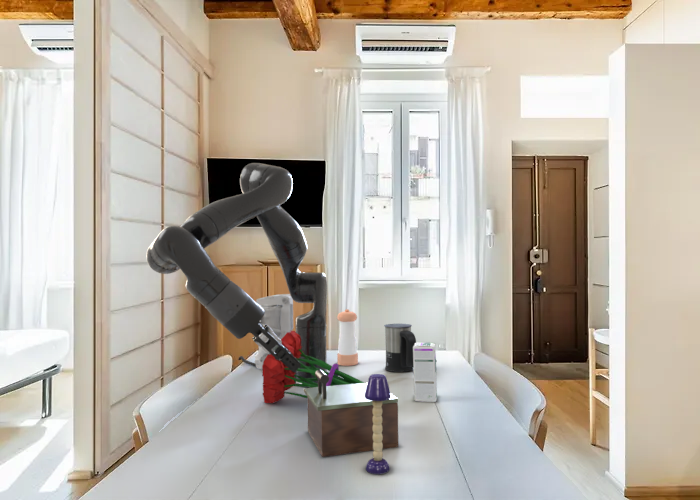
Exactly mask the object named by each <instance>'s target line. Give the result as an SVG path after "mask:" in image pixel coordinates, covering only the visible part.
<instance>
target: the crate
mask: <svg viewBox="0 0 700 500" xmlns="http://www.w3.org/2000/svg"><path fill="white" fill-rule="evenodd" d="M381 407H382V415H381V416H382V436H383V439H382V444H383V448H382V450H387V449H393V448H399V402H398V403H388V404H382V406H381ZM373 416H374V415H373V405H369V406H359V407H350V408H340V409H330V410H321V411H317V409H316V408H315V407H314V405H313V404H312V402H311V401H310V400H309V398H307V434H308V436H309V437H310V439H311V440H312V443H313V444H314V446H315V447H316V449H317V451H318V452H319V454H320V455H321V458H325V457H333V456H342V455H347V454H348V455H349V454H356V453H363V452H371V451H372V452H373V451H374V450H373V442H374V441H373V433H374V432H373Z"/></svg>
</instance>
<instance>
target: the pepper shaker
mask: <svg viewBox="0 0 700 500" xmlns="http://www.w3.org/2000/svg"><path fill="white" fill-rule="evenodd" d="M336 317H337V318H336V319H337V320H338V321H339V336H338V342H337V349H338V352H337V354H336V355H337V356H336V357H337V364H338V365H339V366H344V367H347V366H348V367H350V366H356V365H358V364H359V354H358V352H357V351H358V350H357V349H358V343H357V337H356V336H357V335H356V321H357V319H358V316H357V313H356V312H354V311H350V309H349V308H346V309H345V310H344V311H340V312H339V313H338V314H337V316H336Z"/></svg>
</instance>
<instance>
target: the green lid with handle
mask: <svg viewBox="0 0 700 500" xmlns="http://www.w3.org/2000/svg"><path fill="white" fill-rule="evenodd" d="M315 376H316V377H317V378H318V387H313V388H311V387H304V388H303V394H304V395H306V396H307V397H308V398H309V400H310V401H311V402H312V404H313V405H314V407H315V408H316V409H317V411H321V410H330V409H340V408H350V407H359V406H369V405H373V403H372V402H373V401H371V400H368V399H366V398H365V392H366V388H367V384H368V382H364V383H357V384H346V385H335V386H326V383H328V381H329V377H328V376H327V375H326V374H325V373H324V372H323V371H322V370H317V371H316V372H315ZM390 394H391V398H390V399H389V400H385V401H382V404H388V403H398V404H399V398H398V397H396V396H395V395H394V394H393V393H391V392H390ZM308 398H307V399H308Z"/></svg>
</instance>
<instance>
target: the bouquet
mask: <svg viewBox="0 0 700 500" xmlns="http://www.w3.org/2000/svg"><path fill="white" fill-rule="evenodd" d="M290 331H291V330H290ZM281 341H282V345H283V346H284V347H286V348H287V349H288V350H289V351H290V352H291V353H292V354H293V356H294V357H295V358H296V359H297V360H299V361H304V362H308V363H309V364H310V365H311V366H312V367H308V366H305V365H303V364H302V363H301V362H300V363H301V366H300V367H301V368H305V369H299V368H298V369H297V370H296V371H301V372H308V373H311V374H312V375H313V376H314V377H315V378H304V377H301V376H298V375H295V373H296V372H295V373H294V372H292V371H291V370H290V369H289V368H288V367H287V366H286V365H285V364H283V363H282V362H281V361H279V360H276V359H275V357H274V356H273V355H272V354H270V355H269V354H268V355H267V356H266V358H265V360H264V362H263V366H262V368H263V369H261V370H262V371H261V373H262V374H261V377H262V391H263V392H262V396H263V403H265V404H275V403H277V402H279V401H281V400H283V399H284V398H285V395H291V396H295V397H300V398H304V399H308V397H307V396H306V394H302V393H297V392H290V391H288V390H290V389H292V388H293V387H304V388H313V387H318V384H317V383H315V382H313V381H318V378H317V377H316V376H315V372H316V371H317V370H321V369H319V368H315V366H314V365H313V364H316V365H319V366H321V367H322V368H324V369H326V370H327V372H326V371H324V370H322V371H323V372H324V373H325V374H326V375H327V376H328V377H329V381H328V383H326V386H335V385H346V384H357V383H365V382H364V381H362V380H361V379H358V378H356V377H354V376H352V375H351V374H347V373H345V372H344V371H341V370H340V367H339V366H340V365H338V363H333V364H332V365H331V364H329V363H328V362H327V363H326V362H324V361H321V360H319V359H316V358H313V357H310V356H307V355H305V354H304V353H303V351H301V348H302V346H301V337H300V335H298V334H297V333H296V330H292V331H291V332H287V333H286V335H285V336H284V337H283V338H282V339H281ZM301 356H303V357H305V359H300V357H301ZM308 358H309V359H311V360H309V359H308ZM312 360H314V361H312ZM294 376H295V377H298V378H300V379H296V378H295V377H294ZM295 381H297V382H299V383H302V384H295ZM303 381H306V382H308V383H310V384H308V383H306V382H303Z"/></svg>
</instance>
